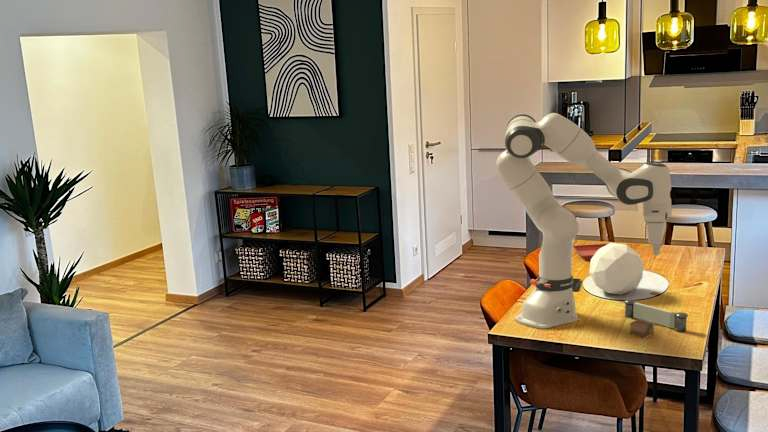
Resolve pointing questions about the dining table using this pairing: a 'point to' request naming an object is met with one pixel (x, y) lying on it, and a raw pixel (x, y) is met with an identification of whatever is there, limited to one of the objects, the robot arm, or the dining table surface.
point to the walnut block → (641, 328)
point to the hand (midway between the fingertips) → (658, 250)
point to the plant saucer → (588, 250)
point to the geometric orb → (616, 268)
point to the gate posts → (680, 316)
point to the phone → (576, 284)
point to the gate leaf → (654, 315)
